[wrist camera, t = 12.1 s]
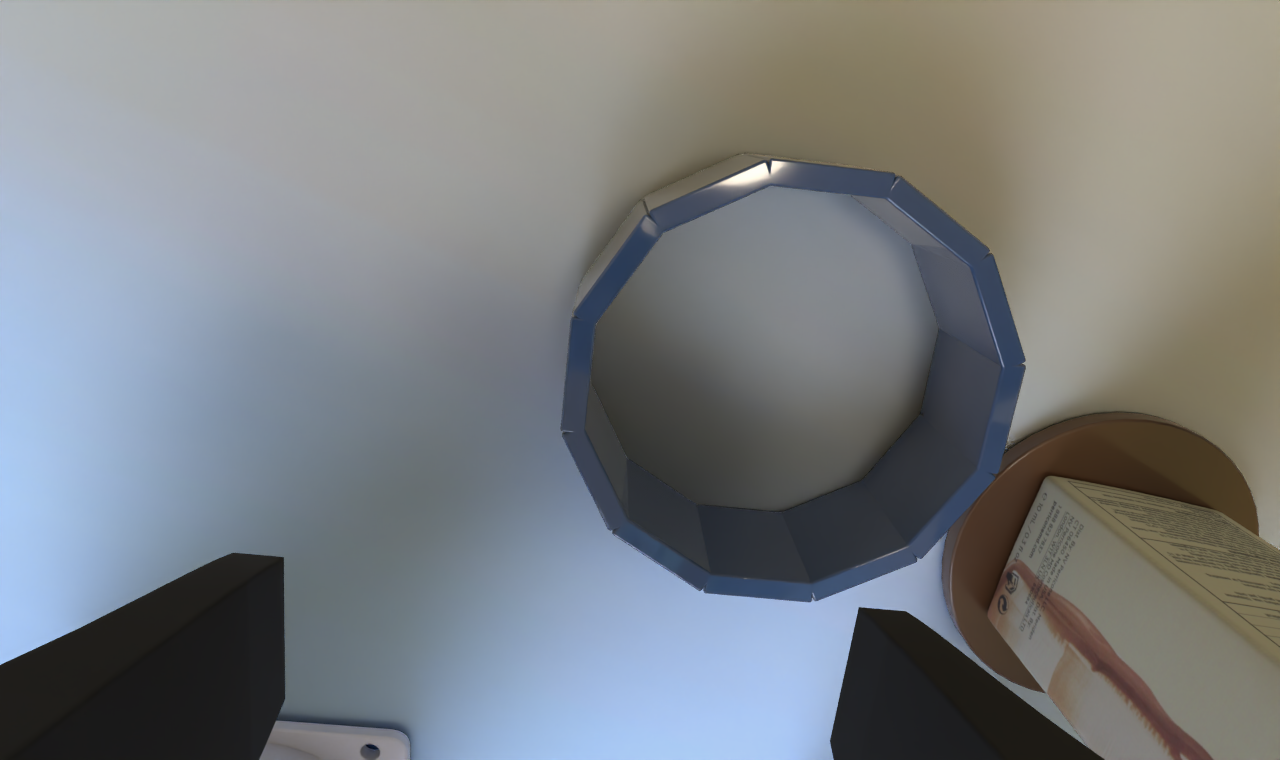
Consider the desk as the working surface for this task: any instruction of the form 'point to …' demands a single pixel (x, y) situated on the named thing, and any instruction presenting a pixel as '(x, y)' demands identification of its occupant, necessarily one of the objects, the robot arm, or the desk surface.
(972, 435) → the blue ring
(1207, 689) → the drug facts carton
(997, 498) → the walnut coaster
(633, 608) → the desk surface
